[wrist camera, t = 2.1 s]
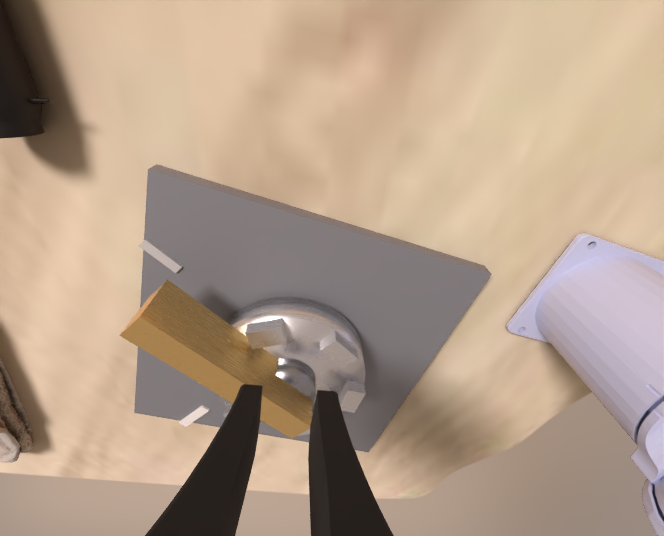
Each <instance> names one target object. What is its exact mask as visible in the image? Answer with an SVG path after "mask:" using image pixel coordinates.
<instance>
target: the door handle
mask: <svg viewBox="0 0 664 536" xmlns="http://www.w3.org/2000/svg"><path fill="white" fill-rule="evenodd" d="M40 102H50V100H49V99H39V97H38V95H37V92H36V89H35V87H34V84H33V82H32V79H31V76H30V74H29V71H28V69H27V66H26V63H25V61H24V58H23V56H22V53H21V50H20V48H19V45H18V43H17V40H16V37H15V35H14V32H13V30H12V27H11V25H10V22H9V19H8V17H7V14H6V12H5V9H4V6H3V4H2V1H1V0H0V138H13V137H24V136H32V135H37V134H42V133H44V132H45V131H44V129H43V126H42V124H41V121H40V115H41V104H45V103H40Z"/></svg>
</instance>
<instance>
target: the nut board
mask: <svg viewBox="0 0 664 536" xmlns="http://www.w3.org/2000/svg"><path fill="white" fill-rule="evenodd" d="M139 247H141V248H142V249H143V250H144V251H143V269H142V287H141V305H140V308H141V307H142V306H143V304H144V303H145V302H146V300H147V299H148V298H149V296H150V295H152V294H153V293H154V292H155V291H156V290H157V289H158V288H159V287H160V286H161V285H162V284H163V283H164V282H165V281H166V280H167V279H168V280H169V281H170V282H172V283H173V284H175V285H176V286H177V287H179V288H180V289H181V290H183V291H184V292H186V293H187V294H188V295H190V296H191V297H193V298H194V299H195V300H197V301H198V302H199V303H201V304H202V305H204V306H205V307H206V308H208V309H209V310H211V311H212V312H213V313H215V314H216V315H217V316H219V317H220V318H222V319H223V320H224V321H227V320H228V319H229V318H230V317H231V316H232V315H233V314H234V313H236V312H237V311H239V310H240V309H241V308H243V307H245V306H247V305H249V304H252V303H254V302H257V301H260V300H265V299H269V298H277V297H296V298H304V299H309V300H313V301H316V302H319V303H322V304H324V305H327V306H329V307H331V308H333V309H334V310H336V311H338V312H339V313H340V314H342V315H343V316H344V317H345V318H346V319H347V320H348V321H349V322H350V323H351V324H352V325H353V327H354V328H355V329H356V331H357V333H358V335H359V337H360V341H361V345H362V351H363V358H364V365H365V373H366V374H365V382H364V385H365V392H366V394H365V396H364V398H363V399H362V401H361V403H360V404H359V406H358V408H357V409H356V411H355V413H352V412H347V411H342V414H343V417H344V421H345V424H346V427H347V430H348V433H349V436H350V439H351V442H352V444H353V447H354V450H358V451H364V452H369V451H370V449H371V448H372V446H373V445H374V444H375V442H376V441H377V439H378V438H379V436H380V435H381V433H382V432H383V431H384V429H385V428H386V426H387V425H388V423H389V422H390V420H391V419H392V418H393V416H394V415H395V413H396V412H397V410H398V409H399V407H400V406H401V404H402V403H403V402H404V400H405V399H406V397H407V396H408V394H409V393H410V391H411V390H412V389H413V387H414V386H415V384H416V383H417V381H418V380H419V378H420V377H421V376H422V374H423V373H424V371H425V370H426V368H427V367H428V365H429V364H430V363H431V361H432V360H433V358H434V357H435V355H436V354H437V352H438V351H439V350H440V348H441V347H442V345H443V344H444V342H445V341H446V339H447V338H448V337H449V335H450V334H451V332H452V331H453V329H454V328H455V326H456V325H457V324H458V322H459V321H460V319H461V318H462V316H463V315H464V313H465V312H466V311H467V309H468V308H469V306H470V305H471V303H472V302H473V300H474V299H475V298H476V296H477V295H478V293H479V292H480V290H481V289H482V287H483V286H484V285H485V283H486V282H487V280H488V279H489V277H490V276H491V273H490V272H489V271H488V269H487V268H486V267H485V266H483V265H480V264H477V263H473V262H470V261H467V260H464V259H460V258H457V257H454V256H451V255H447V254H444V253H441V252H438V251H435V250H431V249H428V248H425V247H422V246H418V245H415V244H412V243H409V242H405V241H402V240H399V239H396V238H392V237H389V236H386V235H383V234H380V233H376V232H373V231H370V230H367V229H363V228H360V227H357V226H354V225H350V224H347V223H344V222H341V221H338V220H334V219H331V218H328V217H325V216H321V215H318V214H315V213H312V212H308V211H305V210H302V209H299V208H296V207H292V206H289V205H286V204H283V203H279V202H276V201H273V200H270V199H266V198H263V197H260V196H257V195H254V194H250V193H247V192H244V191H241V190H237V189H234V188H231V187H228V186H224V185H221V184H218V183H215V182H212V181H208V180H205V179H202V178H199V177H195V176H192V175H189V174H186V173H182V172H179V171H176V170H173V169H170V168H166V167H163V166H160V165H155V166H153V167H152V168H150V169H148V180H147V198H146V216H145V234H144V241H143V242H142V243H141V244H140V245H139ZM225 406H226V405H225V404H224V403H223V402H222V401H221V400H220V399H219V398H218V397H217V395H216V394H215V392H213V391H211V390H210V389H208V388H206V387H205V386H203V385H201V384H200V383H198V382H196V381H195V380H193V379H191V378H190V377H188V376H186V375H185V374H183V373H181V372H180V371H178V370H176V369H175V368H173V367H171V366H170V365H168V364H166V363H165V362H163V361H161V360H160V359H158V358H156V357H155V356H153V355H151V354H150V353H148V352H146V351H145V350H143V349H141V348H140V347H138V358H137V376H136V394H135V412H134V413H139V414H145V415H150V416H156V417H162V418H168V419H174V420H180V421H179V424H181V425H183V426H185V427H187V426H188V425H190V424H191V423H198V424H204V425H210V426H216V427H221V426H222V424H223V422H224V420H225V418H226V417H224V416H223V413H224V409H225ZM258 434H263V435H269V436H275V437H281V438H287V439H291V438H290V437H288V436H286V435H285V434H283V433H281V432H280V431H278V430H276V429H275V428H273V427H271V426H270V425H268V424H265V423H261V422H260V426H259V432H258ZM292 439H293V440H299V441H305V442H309V439H310V434H306V435H300V436H296V437H294V438H292Z"/></svg>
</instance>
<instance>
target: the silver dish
mask: <svg viewBox="0 0 664 536" xmlns="http://www.w3.org/2000/svg"><path fill="white" fill-rule="evenodd" d="M120 336H121V337H123V338H125V339H126V340H128V341H130V342H131V343H133V344H135V345H136V346H138V347H140V348H141V349H143V350H145V351H146V352H148V353H150V354H151V355H153V356H155V357H156V358H158V359H160V360H161V361H163V362H165V363H166V364H168V365H170V366H171V367H173V368H175V369H176V370H178V371H180V372H181V373H183V374H185V375H186V376H188V377H190V378H191V379H193V380H195V381H196V382H198V383H200V384H201V385H203V386H205V387H206V388H208V389H210V390H211V391H213V392H215V394H216V395H217V397H218V398H219V399H220V400H221V401H222V402H223V403H224V404H225V405H226V406H225V409H224V413H223V416H224V417H226V416H227V415H228V413H229V411H230V409H231V407H232V405H233V403H234V401H235V399H236V396H237V394H238V392H239V389H240V387H241V386H242V385H244V384H249V385H262V386H263V387H262V401H261V415H260V422H261V423H265V424H268V425H270V426H271V427H273V428H275V429H276V430H278V431H280V432H281V433H283V434H285V435H286V436H288V437H290V438H291V439H292V438H294V437H296V436H300V435H306V434H310V425H311V420H312V415H313V410H314V405H315V400H316V395H317V390H325V391H335V392H336V393H337V394H338V398H339V402H340V406H341V410H342V411H347V412H352V413H355V411H356V409H357V408H358V406H359V404H360V403H361V401H362V399H363V398H364V396H365V394H366V392H365V385H364V382H365V374H366V373H365V365H364V358H363V351H362V345H361V341H360V337H359V335H358V333H357V331H356V329H355V328H354V327H353V325H352V324H351V323H350V322H349V321H348V320H347V319H346V318H345V317H344V316H343V315H342V314H340V313H339V312H338V311H336V310H334V309H333V308H331V307H329V306H327V305H324V304H322V303H319V302H316V301H313V300H309V299H304V298H296V297H277V298H269V299H265V300H260V301H257V302H254V303H252V304H249V305H247V306H245V307H243V308H241V309H240V310H239V311H237V312H236V313H234V314H233V315H232V316H231V317H230V318H229V319H228V320H227V321H224V320H223V319H222V318H220V317H219V316H217V315H216V314H215V313H213V312H212V311H211V310H209V309H208V308H206V307H205V306H204V305H202V304H201V303H199V302H198V301H197V300H195V299H194V298H193V297H191V296H190V295H188V294H187V293H186V292H184V291H183V290H181V289H180V288H179V287H177V286H176V285H175V284H173V283H172V282H170V281H169V280H168V279H167V280H166V281H165V282H164V283H163V284H162V285H161V286H160V287H159V288H158V289H157V290H156V291H155V292H154V293H153V294H152V295H150V296H149V298H148V299H147V300H146V302H145V303H144V304H143V306H142V307H141V308H140V309H139V311H138V312H137V313H136V315H135V316H134V317H133V319H132V320H131V321H130V323H129V324H128V325H127V326H126V328H125V329H124V330H123V332H122V333H121V334H120Z"/></svg>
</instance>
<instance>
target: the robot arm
mask: <svg viewBox="0 0 664 536" xmlns="http://www.w3.org/2000/svg"><path fill="white" fill-rule="evenodd" d="M590 242H591V244H590V245H588V244H589V243H590ZM506 328H507V329H508V331H509V332H511V333H514V334H517V335H521V336H525V337H529V338H532V339H536V340H540V341H543V342H547V343H551V344H552V345H553V347H554V348H555V349H556V350H557V351H558V352H559V354H560V355H561V356H562V357H563V358H564V359H565V361H566V362H567V363H568V364H569V365H570V367H571V368H572V369H573V370H574V371H575V372H576V374H577V375H578V376H579V377H580V378H581V379H582V381H583V382H584V383H585V384H586V385H587V387H588V388H589V389H590V390H591V391H592V392H593V394H594V395H595V396H596V397H597V398H598V399H599V400H600V402H601V403H602V404H603V405H604V406H605V408H606V409H607V410H608V411H609V412H610V413H611V415H612V416H613V417H614V418H615V419H616V420H617V422H618V423H619V424H620V425H621V426H622V428H623V429H624V430H625V431H626V432H627V434H628V435H629V436H630V437H631V438H632V439H633V441H634V442H635V443H636V444H637V445H638V447H637V449H636V451H635V452H634V453H633V455H631V459H632V460H633V461H634V463H635V464H636V465H637V466H638V468H639V469H640V470H641V471H642V473H643V474H644V475H645V476H646V478H647V480H646V481H645V483H644V485H643V488H642V500H643V506H644V508H645V511H646V514H647V517H648V519H649V521H650V523H651V525H652V527H653V529H654V531H655V533H656V534H657V536H664V261H663V260H660V259H657V258H655V257H652V256H649V255H646V254H643V253H641V252H638V251H635V250H632V249H629V248H627V247H624V246H621V245H618V244H615V243H613V242H610V241H607V240H604V239H601V238H599V237H596V236H593V235H590V234H587V233H582V234H579V235H578V236H576V237H575V238H574V240H573V241H572V242H571V243H570V245H569V246H568V247H567V249H566V250H565V251H564V252H563V254H562V255H561V256H560V257H559V259H558V260H557V261H556V262H555V264H554V265H553V266H552V267H551V269H550V270H549V271H548V273H547V274H546V275H545V276H544V278H543V279H542V280H541V281H540V283H539V284H538V285H537V286H536V288H535V289H534V290H533V291H532V293H531V294H530V295H529V297H528V298H527V299H526V300H525V302H524V303H523V304H522V305H521V307H520V308H519V309H518V310H517V312H516V313H515V314H514V316H513V317H512V318H511V319H510V321H509V322H508V323H507V325H506ZM262 387H263V386H262V385H249V384H244V385H242V386H241V387H240V389H239V392H238V394H237V396H236V399H235V401H234V403H233V405H232V407H231V409H230V411H229V413H228V415H227V416H226V418H225V420H224V422H223V424H222V426H221V427H220V429H219V431H218V432H217V434H216V436H215V437H214V439H213V441H212V442H211V444H210V446H209V447H208V449H207V451H206V452H205V454H204V455H203V457H202V458H201V460H200V461H199V463H198V464H197V466H196V467H195V469H194V470H193V472H192V473H191V475H190V476H189V478H188V479H187V481H186V482H185V484H184V485H183V486H182V488H181V489H180V491H179V492H178V493H177V495H176V496H175V497H174V499H173V500H172V502H171V503H170V504H169V506H168V507H167V508H166V510H165V511H164V512H163V514H162V515H161V516H160V517H159V519H158V520H157V521H156V523H155V524H154V525H153V526H152V528H151V529H150V530H149V531H148V533H147V534H146V535H145V536H235V533H236V529H237V525H238V521H239V517H240V513H241V509H242V505H243V501H244V497H245V493H246V489H247V485H248V481H249V477H250V473H251V469H252V465H253V461H254V457H255V451H256V445H257V438H258V432H259V426H260V415H261V401H262ZM308 460H309V490H310V519H311V536H393V534H392V532H391V530H390V528H389V527H388V524H387V522H386V520H385V519H384V516H383V514H382V512H381V510H380V509H379V506H378V504H377V502H376V500H375V498H374V496H373V493H372V491H371V489H370V487H369V484H368V482H367V480H366V477H365V475H364V473H363V470H362V468H361V465H360V463H359V460H358V458H357V455H356V452H355V450H354V447H353V444H352V442H351V439H350V436H349V433H348V430H347V427H346V424H345V421H344V417H343V414H342V410H341V406H340V402H339V398H338V394H337V393H336V392H335V391H325V390H317V395H316V400H315V405H314V410H313V415H312V420H311V425H310V439H309V458H308Z"/></svg>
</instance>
